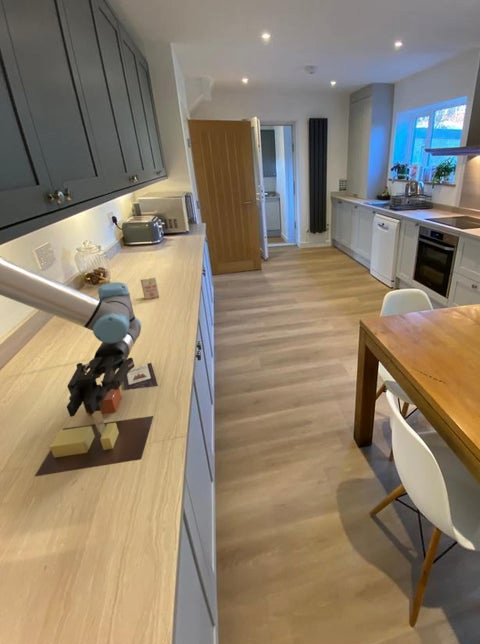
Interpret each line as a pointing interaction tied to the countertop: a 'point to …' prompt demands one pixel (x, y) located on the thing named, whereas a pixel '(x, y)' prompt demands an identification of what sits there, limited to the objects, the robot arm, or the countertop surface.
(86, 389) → the knife
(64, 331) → the countertop surface
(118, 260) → the countertop surface
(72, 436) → the butter
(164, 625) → the countertop surface
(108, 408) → the knife stand
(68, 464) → the board
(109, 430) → the butter slice
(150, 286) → the tea bag
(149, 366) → the chocolate bar
